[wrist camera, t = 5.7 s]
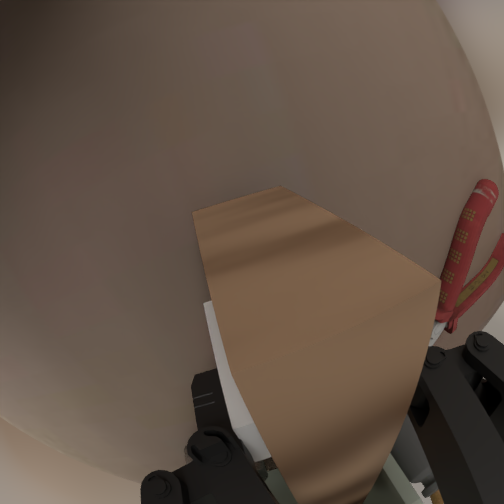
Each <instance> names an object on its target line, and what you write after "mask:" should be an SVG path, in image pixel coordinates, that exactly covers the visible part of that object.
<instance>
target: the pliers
mask: <svg viewBox="0 0 504 504" xmlns="http://www.w3.org/2000/svg"><path fill="white" fill-rule="evenodd" d="M498 194H499V192H498V188H497V186H496V184H495V183H494V182H492V181H491V180H488V179H482V180H480V181H479V182H478V183H477V185H476V187H475V189H474V190H473V192H472V194H471V196H470V198H469V200H468V201H467V203H466V205H465V207H464V209H463V211H462V213H461V216H460V218H459V221H458V224H457V227H456V230H455V233H454V236H453V240H452V243H451V247H450V250H449V253H448V256H447V259H446V262H445V265H444V268H443V271H442V274H441V277H440V280H441V288H440V294H439V300H438V305H437V310H436V315H435V320H434V325H433V329H432V334H431V338H430V342H429V347H430V346H432V345H433V344H434V343H435V341H436V340H437V338H438V337H439V335H440V334H441V332H442V331H443V329H444V330H445V331H447V332H448V333H450V334H451V333H453V332H454V331H455V330H456V328H457V322H458V318H459V317H461V316H462V315H463V314H464V313H465V312H466V311H467V310H468V309H469V308H470V307H471V306H472V305H473V304H474V303H475V302H476V301H477V300H478V299H479V298H480V297H481V296H482V295H483V294H484V293H485V292H486V290H487V289H488V288H489V287H490V286H491V285H492V284H493V282H494V281H495V280H496V278H497V277H498V276H499V274H500V272H501V271H502V269H503V267H504V233H502V235H501V237H500V239H499V241H498V243H497V245H496V247H495V249H494V251H493V253H492V255H491V257H490V258H489V260H488V262H487V263H486V265H485V266H484V267H483V268H482V270H481V271H480V272H479V273H478V274H477V275H476V276H475V277H474V278H473V279H472V280H471V281H470V282H469V283H468V284H466V285H465V286H464V287H463V284H464V282H465V279H466V276H467V273H468V271H469V268H470V265H471V262H472V259H473V256H474V253H475V250H476V246H477V243H478V240H479V237H480V235H481V232H482V229H483V227H484V224H485V222H486V219H487V217H488V216H489V214H490V212H491V210H492V208H493V206H494V204H495V202H496V200H497V198H498ZM462 287H463V288H462Z"/></svg>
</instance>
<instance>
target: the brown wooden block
mask: <svg viewBox="0 0 504 504" xmlns="http://www.w3.org/2000/svg"><path fill="white" fill-rule="evenodd" d="M192 216H193V221H194V225H195V230H196V235H197V239H198V244H199V249H200V253H201V258H202V262H203V266H204V271H205V275H206V279H207V283H208V288H209V292H210V296H211V300H212V304H213V308H214V312H215V316H216V320H217V324H218V328H219V331H220V335H221V339H222V343H223V346H224V350H225V354H226V357H227V361H228V365H229V368H230V372H231V375H232V377H233V379H234V381H235V383H236V386H237V388H238V390H239V392H240V394H241V396H242V398H243V401H244V403H245V405H246V407H247V409H248V411H249V413H250V415H251V417H252V419H253V421H254V423H255V425H256V427H257V429H258V431H259V433H260V435H261V437H262V439H263V441H264V443H265V445H266V447H267V449H268V451H269V453H270V454H271V456H272V458H273V460H274V462H275V464H276V466H277V468H278V469H279V471H280V473H281V475H282V477H283V478H284V480H285V482H286V484H287V486H288V487H289V489H290V491H291V493H292V494H293V496H294V498H295V499H296V501H297V503H298V504H363V502H364V500H365V499H366V497H367V495H368V494H369V492H370V490H371V489H372V487H373V485H374V483H375V481H376V480H377V478H378V476H379V474H380V472H381V470H382V468H383V466H384V464H385V462H386V460H387V458H388V456H389V454H390V452H391V450H392V448H393V445H394V443H395V441H396V439H397V437H398V434H399V432H400V430H401V427H402V425H403V422H404V420H405V417H406V415H407V412H408V409H409V407H410V404H411V401H412V398H413V396H414V393H415V390H416V387H417V384H418V381H419V378H420V374H421V371H422V368H423V364H424V361H425V357H426V354H427V350H428V346H429V342H430V338H431V334H432V329H433V325H434V320H435V315H436V310H437V305H438V300H439V294H440V288H441V280H440V279H438V278H437V277H435V276H434V275H432V274H431V273H429V272H428V271H426V270H425V269H423V268H422V267H420V266H419V265H417V264H416V263H414V262H413V261H411V260H410V259H408V258H406V257H405V256H403V255H402V254H400V253H398V252H397V251H395V250H394V249H392V248H390V247H389V246H387V245H386V244H384V243H382V242H381V241H379V240H377V239H376V238H374V237H372V236H371V235H369V234H367V233H366V232H364V231H362V230H360V229H359V228H357V227H355V226H354V225H352V224H350V223H348V222H347V221H345V220H343V219H341V218H340V217H338V216H336V215H334V214H332V213H331V212H329V211H327V210H325V209H323V208H322V207H320V206H318V205H316V204H314V203H312V202H310V201H309V200H307V199H305V198H303V197H301V196H299V195H297V194H295V193H293V192H291V191H290V190H288V189H286V188H284V187H282V186H278V187H274V188H271V189H267V190H264V191H260V192H257V193H253V194H250V195H246V196H243V197H239V198H236V199H233V200H229V201H226V202H223V203H219V204H216V205H213V206H210V207H206V208H203V209H200V210H197V211H194V212H192Z"/></svg>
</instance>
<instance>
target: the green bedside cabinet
mask: <svg viewBox="0 0 504 504" xmlns="http://www.w3.org/2000/svg"><path fill="white" fill-rule="evenodd" d="M267 473H268V478H267V479H266V480H265V481H264V482H265V483H266V485H267V486H268V488H269V489H270V491H271V492H272V494H273V495H274V496H275V498H276V499H277V501H278V502H279V504H298V503H297V501H296V499H295V498H294V496H293V494H292V493H291V491H290V489H289V487H288V486H287V484H286V482H285V480H284V478H283V477H282V475H281V473H280V471H279V469H278V468H277V469H274V470H271V471H267ZM363 504H423V502H422V500H421V498H420V497H419V495H418V494H417V492H416V491H415V489H414V488H413V486H412V485H411V483H410V482H409V480H408V479H407V477H406V476H405V474H404V473H403V471H402V470H401V468H400V467H399V465H398V464H397V462H396V461H395V459H394V458H393V456H392V455H391V453H390V454H389V456H388V458H387V460H386V462H385V464H384V466H383V468H382V470H381V472H380V474H379V476H378V478H377V480H376V481H375V483H374V485H373V487H372V489H371V490H370V492H369V494H368V495H367V497H366V499H365V500H364V502H363Z"/></svg>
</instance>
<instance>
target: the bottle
mask: <svg viewBox="0 0 504 504" xmlns="http://www.w3.org/2000/svg"><path fill="white" fill-rule="evenodd" d="M390 453H391V455H392V456H393V458H394V459H395V461H396V462H397V464H398V465H399V467H400V468H401V470H402V471H403V473H404V474H405V476H406V477H407V479H408V480H409V482H411V483H418V482H421V483H422V484H423V485H424V487H425V488H424V490H423V491H422V494H423V496H424V497H425V498H426V497H429V496H430V498H431V500H432V503H433V504H443V503H444V502H443V500H442V497H441V494H440V491H439V489H438V486H437V483H436V481H435V478H434V475H433V473H432V470H431V468H430V465H429V463H428V460H427V458H426V455H425V453H424V451H423V448H422V446H421V444H420V441H419V439H418V437H417V434H416V432H415V430H414V427H413V425H412V423H411V421H410V418H409V416H408V415H406V417H405V420H404V422H403V425H402V427H401V430H400V432H399V434H398V437H397V439H396V441H395V443H394V445H393V448H392V450H391V452H390Z"/></svg>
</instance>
